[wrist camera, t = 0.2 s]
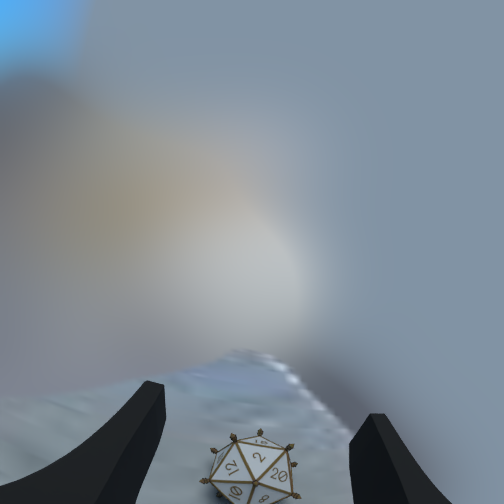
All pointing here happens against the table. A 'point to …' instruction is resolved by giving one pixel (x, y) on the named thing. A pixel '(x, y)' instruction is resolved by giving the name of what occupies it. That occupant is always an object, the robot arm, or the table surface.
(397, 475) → the robot arm
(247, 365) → the table surface
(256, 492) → the game die
